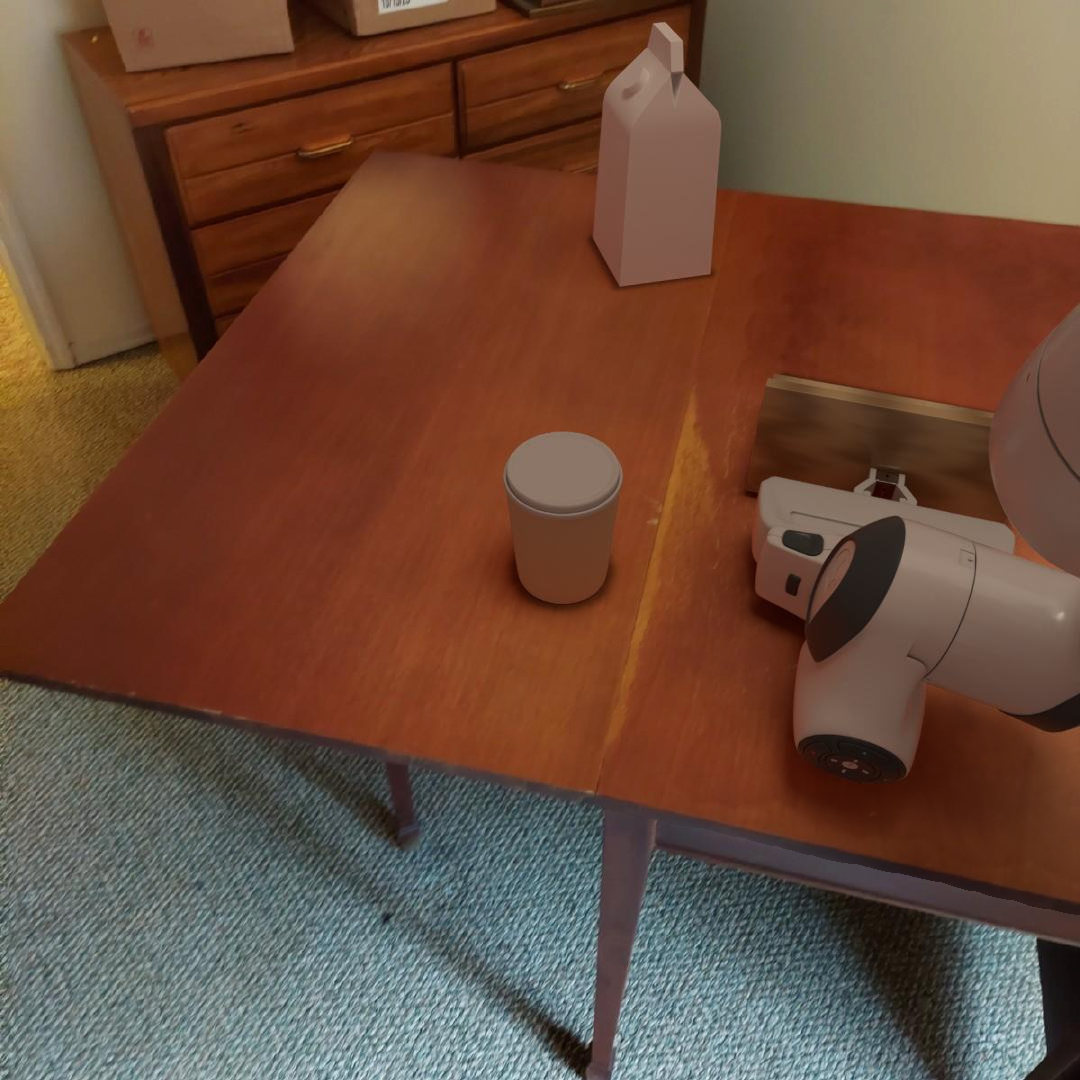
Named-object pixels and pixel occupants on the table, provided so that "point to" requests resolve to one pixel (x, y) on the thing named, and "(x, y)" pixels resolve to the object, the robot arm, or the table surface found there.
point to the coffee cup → (562, 513)
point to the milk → (657, 169)
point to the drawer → (875, 444)
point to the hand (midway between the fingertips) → (885, 476)
